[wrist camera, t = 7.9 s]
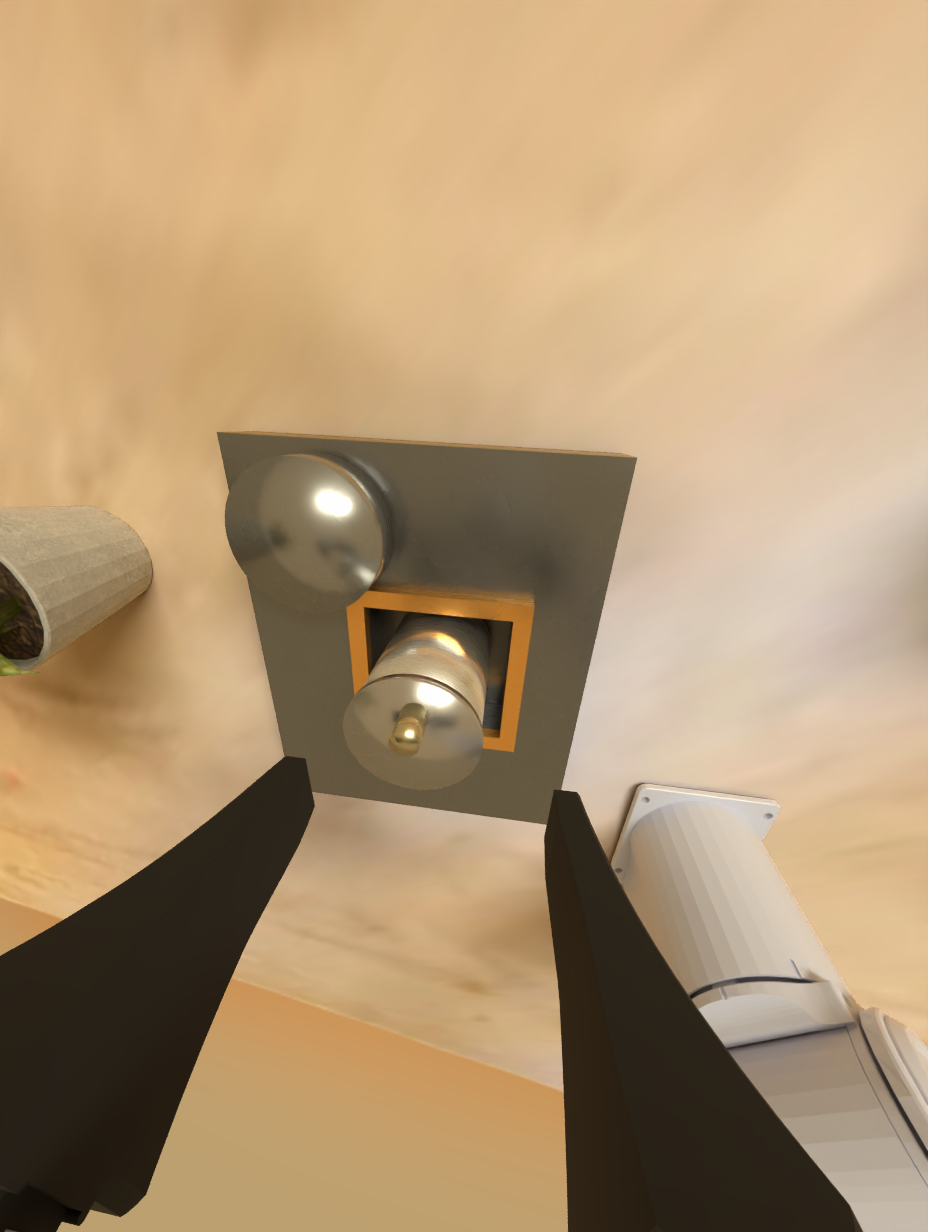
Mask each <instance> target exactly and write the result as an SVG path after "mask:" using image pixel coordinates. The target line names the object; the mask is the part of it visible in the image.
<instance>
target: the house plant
mask: <svg viewBox="0 0 928 1232" xmlns="http://www.w3.org/2000/svg"><path fill="white" fill-rule="evenodd" d="M152 573H153V571H152V564H151V559H150V557H149V554H148V552H147V549H146V547H145V546H144V544H143V543H142V541H141V539H140V538H139V536H138V535H137V534H136V533H135V532H134V531H133V530H132V529H131V528H130V526H129V525H127V524H126V523H124V522H123V521H121V520H120V519H118V518H117V517H115V516H113V515H111V514H109V513H107V512H105V511H103V510H101V509H98V508H95V507H92V506H61V507H20V508H0V676H7V675H18V674H31V673H38V672H32V671H28V670H32V669H35V668H36V667H38V666H39V665H41V664H42V663H44V662H45V661H46V660H48V659H49V658H51V657H52V656H54V655H55V654H56V653H58V652H59V651H61V650H62V649H64V648H65V647H66V646H68V645H69V644H71V643H72V642H74V641H75V640H76V639H78V638H79V637H81V636H82V635H84V634H85V633H86V632H88V631H89V630H91V629H92V628H94V627H95V626H96V625H98V624H99V623H101V622H102V621H104V620H105V619H106V618H108V617H109V616H111V615H112V614H114V613H115V612H116V611H118V610H119V609H121V608H122V607H124V606H125V605H126V604H128V603H129V602H131V601H132V600H134V599H135V598H136V597H138V596H139V595H141V594H142V593H143V592H145V591H146V590H147V589H148V587H149V585H150V583H151V580H152Z"/></svg>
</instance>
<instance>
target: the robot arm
mask: <svg viewBox="0 0 928 1232" xmlns="http://www.w3.org/2000/svg"><path fill="white" fill-rule="evenodd" d="M643 797H644V798H643ZM314 807H315V805H314V799H313V794H312V789H311V784H310V779H309V773H308V768H307V763H306V758H299V757H291V756H285V757H284V758H283V759H282V760H280V761H279V762H278V763H277V764H276V765H274V766H273V767H272V768H271V769H270V770H268V771H267V772H266V773H265V774H264V775H263V776H261V777H260V778H259V779H258V780H257V781H256V782H254V783H253V784H252V785H251V786H250V787H248V788H247V789H246V790H245V791H244V792H243V793H241V794H240V795H239V796H238V797H237V798H235V799H234V800H233V801H232V802H230V803H229V804H228V805H227V806H226V807H224V808H223V809H222V810H221V811H220V812H218V813H217V814H216V815H215V816H213V817H212V818H211V819H210V820H208V821H207V822H206V823H205V824H203V825H202V826H201V827H199V828H198V829H197V830H196V831H194V832H193V833H192V834H190V835H189V836H188V837H186V838H185V839H184V840H183V841H181V842H180V843H179V844H177V845H176V846H175V847H173V848H172V849H171V850H169V851H168V852H167V853H165V854H164V855H162V856H161V857H160V858H158V859H157V860H155V861H154V862H153V863H151V864H150V865H148V866H147V867H145V868H144V869H143V870H141V871H140V872H138V873H137V874H135V875H134V876H132V877H131V878H129V879H128V880H126V881H125V882H123V883H122V884H120V885H119V886H117V887H116V888H114V889H113V890H111V891H109V892H108V893H106V894H105V895H103V896H101V897H100V898H98V899H97V900H95V901H93V902H92V903H90V904H88V905H87V906H85V907H84V908H82V909H80V910H79V911H77V912H76V913H74V914H72V915H71V916H69V917H68V918H66V919H64V920H63V921H61V922H59V923H58V924H56V925H54V926H53V927H51V928H49V929H47V930H45V931H44V932H42V933H40V934H38V935H37V936H35V937H33V938H32V939H30V940H28V941H26V942H25V943H23V944H21V945H19V946H17V947H15V948H14V949H12V950H10V951H8V952H6V953H5V954H3V955H1V956H0V1232H56V1231H57V1229H58V1227H59V1226H60V1224H61V1222H65V1223H69V1224H73V1225H77V1226H80V1224H82V1222H83V1221H84V1220H85V1218H86V1216H87V1214H88V1212H89V1211H90V1210H94V1211H98V1212H103V1213H107V1214H111V1215H115V1216H119V1217H121V1216H123V1215H124V1214H126V1213H127V1212H129V1211H130V1210H131V1209H132V1208H133V1207H134V1206H135V1205H137V1204H138V1202H139V1201H140V1200H141V1199H142V1198H143V1197H144V1196H145V1195H146V1193H147V1190H148V1188H149V1185H150V1181H151V1179H152V1176H153V1173H154V1171H155V1168H156V1165H157V1163H158V1160H159V1157H160V1154H161V1152H162V1149H163V1147H164V1144H165V1141H166V1138H167V1136H168V1133H169V1130H170V1128H171V1125H172V1122H173V1120H174V1117H175V1114H176V1111H177V1109H178V1106H179V1103H180V1101H181V1098H182V1096H183V1093H184V1091H185V1088H186V1086H187V1083H188V1081H189V1078H190V1075H191V1073H192V1071H193V1068H194V1066H195V1063H196V1061H197V1058H198V1055H199V1053H200V1051H201V1048H202V1045H203V1043H204V1041H205V1038H206V1036H207V1033H208V1031H209V1029H210V1026H211V1024H212V1021H213V1019H214V1017H215V1014H216V1012H217V1010H218V1007H219V1005H220V1002H221V1000H222V998H223V995H224V993H225V991H226V988H227V986H228V984H229V982H230V979H231V977H232V975H233V973H234V970H235V968H236V966H237V964H238V961H239V959H240V957H241V955H242V952H243V950H244V948H245V946H246V944H247V942H248V940H249V938H250V936H251V934H252V932H253V930H254V928H255V926H256V924H257V922H258V920H259V919H260V917H261V915H262V913H263V911H264V909H265V907H266V906H267V904H268V902H269V900H270V898H271V896H272V894H273V893H274V891H275V889H276V887H277V885H278V883H279V881H280V880H281V878H282V876H283V874H284V872H285V870H286V868H287V867H288V865H289V863H290V861H291V859H292V857H293V855H294V853H295V851H296V849H297V848H298V846H299V844H300V842H301V839H302V837H303V834H304V832H305V830H306V827H307V825H308V822H309V820H310V817H311V814H312V812H313V809H314ZM779 812H780V806H779V805H778V803H777V802H776V801H774V800H771V799H763V798H755V797H747V796H740V795H732V794H724V793H716V792H708V791H701V790H693V789H685V788H677V787H670V786H662V785H654V784H641V785H640V786H638V788H637V790H636V793H635V796H634V798H633V801H632V804H631V807H630V810H629V813H628V815H627V818H626V821H625V824H624V827H623V830H622V833H621V835H620V838H619V841H618V844H617V847H616V850H615V852H614V855H613V858H612V861H611V864H610V863H609V861H608V859H607V857H606V855H605V853H604V851H603V849H602V847H601V844H600V842H599V840H598V838H597V836H596V834H595V831H594V829H593V827H592V825H591V823H590V820H589V818H588V816H587V813H586V811H585V808H584V806H583V803H582V801H581V798H580V796H579V794H578V793H577V792H571V791H563V790H555V789H554V792H553V797H552V802H551V807H550V812H549V817H548V822H547V827H546V832H545V837H544V844H545V879H546V888H547V896H548V905H549V913H550V921H551V929H552V938H553V946H554V954H555V962H556V970H557V978H558V989H559V1000H560V1018H561V1039H562V1060H563V1084H564V1108H565V1137H566V1166H567V1167H566V1168H567V1198H568V1199H567V1200H568V1232H928V1047H927V1046H926V1045H925V1044H924V1043H923V1042H922V1040H921V1039H920V1038H919V1037H918V1036H917V1035H916V1034H915V1033H914V1032H913V1031H912V1030H911V1029H909V1028H908V1027H907V1026H905V1025H903V1024H902V1023H900V1022H898V1021H897V1020H895V1019H893V1018H891V1017H890V1016H889V1015H888V1014H886V1013H885V1012H884V1011H882V1010H881V1009H879V1008H876V1007H871V1008H869V1009H866V1010H864V1009H863V1008H862V1007H861V1006H860V1005H859V1004H857V1002H856V1001H855V999H854V997H853V996H852V994H851V992H850V991H849V989H848V987H847V986H846V984H845V982H844V980H843V979H842V977H841V975H840V974H839V972H838V970H837V969H836V967H835V965H834V964H833V962H832V960H831V958H830V957H829V955H828V953H827V952H826V950H825V948H824V947H823V945H822V943H821V941H820V940H819V938H818V936H817V935H816V933H815V931H814V930H813V928H812V926H811V925H810V923H809V921H808V919H807V918H806V916H805V914H804V913H803V911H802V909H801V908H800V906H799V904H798V903H797V901H796V899H795V897H794V896H793V894H792V892H791V891H790V889H789V887H788V886H787V884H786V882H785V880H784V879H783V877H782V875H781V874H780V872H779V870H778V869H777V867H776V865H775V864H774V862H773V860H772V858H771V857H770V855H769V853H768V852H767V850H766V848H765V847H764V845H763V843H762V840H763V838H764V837H765V835H766V833H767V832H768V830H769V828H770V827H771V825H772V823H773V822H774V820H775V818H776V817H777V815H778V814H779ZM621 884H623V887H624V889H623V888H622V886H621Z"/></svg>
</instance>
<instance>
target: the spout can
mask: <svg viewBox="0 0 928 1232" xmlns="http://www.w3.org/2000/svg"><path fill="white" fill-rule="evenodd" d="M490 654H491V637H490V633H489V630H488V628H487V626H486V624H485V623H484V621H483V620H482V619H481V618H471V617H460V616H450V615H440V614H430V613H419V612H408V613H407V614H406V615H405V616H404V618H403V619H402V621H401V623H400V624H399V626H398V628H397V629H396V631H395V633H394V634H393V636H392V638H391V639H390V641H389V643H388V645H387V646H386V648H385V650H384V651H383V653H382V655H381V656H380V658H379V660H378V662H377V663H376V665H375V667H374V668H373V670H372V672H371V673H370V675H369V677H368V678H367V680H366V682H365V684H364V685H363V687H362V688H361V689H360V690H359V691H358V692H357V693H356V694H355V696H354V697H353V698H352V700H351V702H350V703H349V705H348V707H347V709H346V711H345V715H344V718H343V733H344V737H345V741H346V743H347V746H348V748H349V749H350V751H351V753H352V754H353V756H354V757H355V758H356V760H357V761H358V762H359V763H360V764H361V765H362V766H363V767H364V768H366V769H367V770H368V771H369V772H371V773H372V774H374V775H375V776H377V777H379V778H380V779H382V780H384V781H386V782H389V783H391V784H394V785H397V786H400V787H404V788H410V789H418V790H432V789H440V788H444V787H448V786H450V785H453V784H455V783H457V782H459V781H461V780H463V779H464V778H466V777H467V776H468V775H469V774H470V773H471V772H472V771H473V770H474V768H475V767H476V766H477V764H478V762H479V760H480V757H481V754H482V748H483V728H482V724H483V715H484V706H485V698H486V689H487V680H488V671H489V663H490Z"/></svg>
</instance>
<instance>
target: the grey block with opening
mask: <svg viewBox="0 0 928 1232" xmlns="http://www.w3.org/2000/svg"><path fill="white" fill-rule="evenodd" d="M217 435H218V440H219V445H220V450H221V454H222V459H223V464H224V469H225V473H226V478H227V483H228V488H229V495H228V498H227V502H226V508H225V527H226V533H227V538H228V541H229V545H230V547H231V550H232V552H233V555H234V557H235V558H236V560H237V562H238V564H239V566H240V567H241V568H242V570H243V571H244V573H245V574H246V575H247V579H248V583H249V588H250V593H251V598H252V602H253V607H254V612H255V617H256V622H257V626H258V631H259V636H260V641H261V645H262V650H263V655H264V660H265V665H266V669H267V674H268V679H269V684H270V689H271V693H272V698H273V703H274V708H275V712H276V717H277V722H278V727H279V732H280V736H281V741H282V746H283V751H284V755H285V756H291V757H299V758H306V763H307V768H308V773H309V779H310V784H311V789H312V792H318V793H325V794H332V795H339V796H346V797H353V798H361V799H368V800H375V801H382V802H389V803H396V804H403V805H411V806H418V807H425V808H432V809H439V810H446V811H453V812H460V813H468V814H475V815H482V816H489V817H496V818H503V819H510V820H518V821H525V822H532V823H539V824H546V825H547V822H548V817H549V812H550V807H551V802H552V797H553V792H554V789H555V790H561V788H562V783H563V779H564V775H565V770H566V766H567V761H568V757H569V753H570V748H571V744H572V740H573V735H574V731H575V727H576V722H577V718H578V713H579V709H580V705H581V700H582V696H583V692H584V687H585V683H586V678H587V674H588V670H589V665H590V661H591V657H592V652H593V648H594V644H595V639H596V635H597V630H598V626H599V622H600V617H601V613H602V609H603V604H604V600H605V595H606V591H607V587H608V582H609V578H610V574H611V569H612V565H613V561H614V556H615V552H616V547H617V543H618V539H619V534H620V530H621V526H622V521H623V517H624V512H625V508H626V504H627V499H628V495H629V491H630V486H631V482H632V478H633V473H634V469H635V464H636V460H637V458H636V457H632V456H629V455H625V454H621V453H606V452H589V451H573V450H556V449H539V448H523V447H506V446H490V445H473V444H456V443H440V442H423V441H406V440H390V439H373V438H357V437H340V436H323V435H307V434H290V433H273V432H257V431H245V432H217ZM408 612H419V613H430V614H440V615H450V616H460V617H471V618H481V619H482V620H483V621H484V623H485V624H486V626H487V628H488V630H489V633H490V637H491V654H490V663H489V671H488V680H487V689H486V698H485V706H484V715H483V724H482V728H483V748H482V754H481V757H480V760H479V762H478V764H477V766H476V767H475V768H474V770H473V771H472V772H471V773H470V774H469V775H468V776H467V777H466V778H464V779H463V780H461V781H459V782H457V783H455V784H453V785H450V786H448V787H444V788H440V789H432V790H418V789H410V788H404V787H400V786H397V785H394V784H391V783H389V782H386V781H384V780H382V779H380V778H379V777H377V776H375V775H374V774H372V773H371V772H369V771H368V770H367V769H366V768H364V767H363V766H362V765H361V764H360V763H359V762H358V761H357V760H356V758H355V757H354V756H353V754H352V753H351V751H350V749H349V748H348V746H347V743H346V741H345V737H344V733H343V718H344V715H345V711H346V709H347V707H348V705H349V703H350V702H351V700H352V698H353V697H354V696H355V694H356V693H357V692H358V691H359V690H360V689H361V688H362V687H363V685H364V684H365V682H366V680H367V678H368V677H369V675H370V673H371V672H372V670H373V668H374V667H375V665H376V663H377V662H378V660H379V658H380V656H381V655H382V653H383V651H384V650H385V648H386V646H387V645H388V643H389V641H390V639H391V638H392V636H393V634H394V633H395V631H396V629H397V628H398V626H399V624H400V623H401V621H402V619H403V618H404V616H405V615H406V614H407V613H408Z"/></svg>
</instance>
